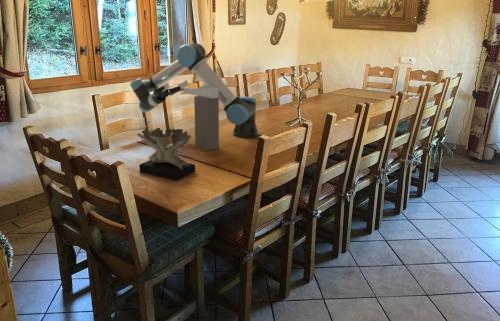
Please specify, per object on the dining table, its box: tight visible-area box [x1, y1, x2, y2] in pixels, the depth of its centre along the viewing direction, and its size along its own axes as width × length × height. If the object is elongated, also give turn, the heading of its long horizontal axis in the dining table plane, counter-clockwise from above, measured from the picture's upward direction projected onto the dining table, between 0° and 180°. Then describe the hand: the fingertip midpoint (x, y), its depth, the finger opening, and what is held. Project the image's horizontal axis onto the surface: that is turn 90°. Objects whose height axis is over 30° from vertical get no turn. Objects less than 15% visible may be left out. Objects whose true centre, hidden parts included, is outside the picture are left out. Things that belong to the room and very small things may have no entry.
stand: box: [193, 95, 220, 152], centre depth 220 cm, size 9×9×28 cm
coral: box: [136, 127, 196, 182], centre depth 182 cm, size 25×20×22 cm
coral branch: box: [166, 142, 184, 157], centre depth 205 cm, size 9×8×10 cm
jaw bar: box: [183, 85, 218, 99], centre depth 217 cm, size 22×5×5 cm, turn 51°
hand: (178, 83), depth 226 cm, fingers open, 13 cm apart
